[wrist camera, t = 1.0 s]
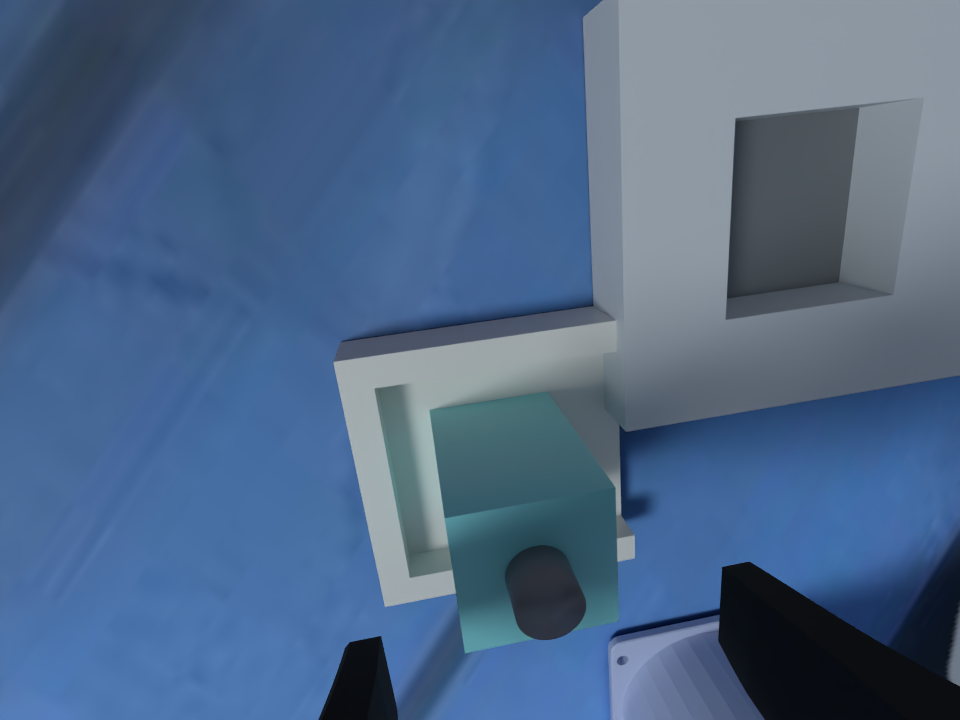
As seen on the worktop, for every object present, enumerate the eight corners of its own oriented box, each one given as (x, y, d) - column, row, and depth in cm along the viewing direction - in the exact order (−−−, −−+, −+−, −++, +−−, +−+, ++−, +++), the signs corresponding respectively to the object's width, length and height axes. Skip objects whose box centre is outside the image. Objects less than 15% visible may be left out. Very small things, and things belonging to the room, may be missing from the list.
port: (897, 351, 20) (964, 374, 18) (596, 400, 19) (625, 431, 17) (956, -15, 17) (1053, -48, 14) (582, 17, 15) (617, -14, 13)
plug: (554, 492, 19) (638, 660, 13) (444, 512, 19) (471, 697, 12) (547, 391, 18) (637, 518, 11) (429, 410, 18) (449, 553, 11)
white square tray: (613, 524, 21) (634, 558, 19) (386, 567, 20) (384, 606, 18) (607, 303, 18) (631, 318, 16) (340, 342, 17) (333, 362, 15)
